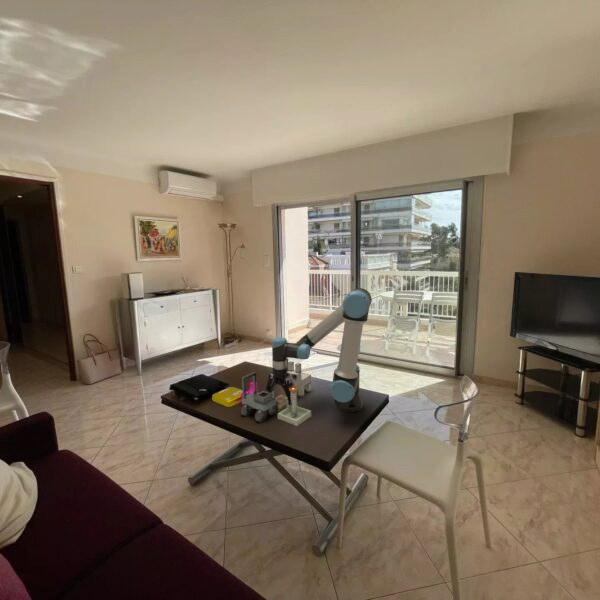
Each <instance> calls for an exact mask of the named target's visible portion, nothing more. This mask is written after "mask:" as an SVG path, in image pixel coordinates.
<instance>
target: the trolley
mask: <svg viewBox="0 0 600 600" xmlns="http://www.w3.org/2000/svg"><path fill="white" fill-rule="evenodd" d="M250 378H252V382H253V393H251V394H249V395H247V396H246V391H247V390H246V389H247V388H246V387H247V386H246V380H248V379H250ZM256 383H257V373H256V371H254V372H251V373H249V374H247V375H244V376H242V377H241V388H242V389H241V390H242V393H243V398H242V402H241V404H242V403H243V404H244V405H242V406H241V407H240V414H241V416H244V417H247V416H249V415H251V414H252V413H253V410H256V411H255V413H254V420H255V421H256V422H258V423H262V422H265V420H267V419H266V418H267V416H268V415H269V416H274V415H276V414H277V412H278V411H277V408H278V407H277V404H276V399H275V398H276V397H274V398H273V394H272V393H269V392H268V391H267V390H262V391H260V392H258V393H257V388H256Z"/></svg>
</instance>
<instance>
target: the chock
mask: <svg viewBox="0 0 600 600" xmlns="http://www.w3.org/2000/svg"><path fill="white" fill-rule="evenodd" d="M274 398H275V399H276V404H277V407H278V408H277V412H278V413H279V412H281V411H283V410H284V409H286V408H287V403H286V399H287V396H286V395H285V394H284V395H283V394H280V395H278V396H276V397H274Z"/></svg>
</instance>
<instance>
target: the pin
mask: <svg viewBox="0 0 600 600" xmlns="http://www.w3.org/2000/svg"><path fill="white" fill-rule="evenodd" d="M289 391H290V392H291V417H292V418H297V417H298V410H297V406H298V386H290V387H289Z"/></svg>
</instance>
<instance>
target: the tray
mask: <svg viewBox="0 0 600 600" xmlns="http://www.w3.org/2000/svg"><path fill="white" fill-rule="evenodd" d="M297 410H298V417H297V418H292V417H291V406H289V407H288V408H286V409H284V410H283V411H281V412H278V413H276V414H277V420H280V421H282V422H284V423H287V424H289V425H291V426H292V425H293V426H295V427H298V426H300V425H301V424H303V423H304V422H305V421H307V420H308V419H309V418H311V417H312V410H310V409H307V408H304V407H301V406H299V405H297Z"/></svg>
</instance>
